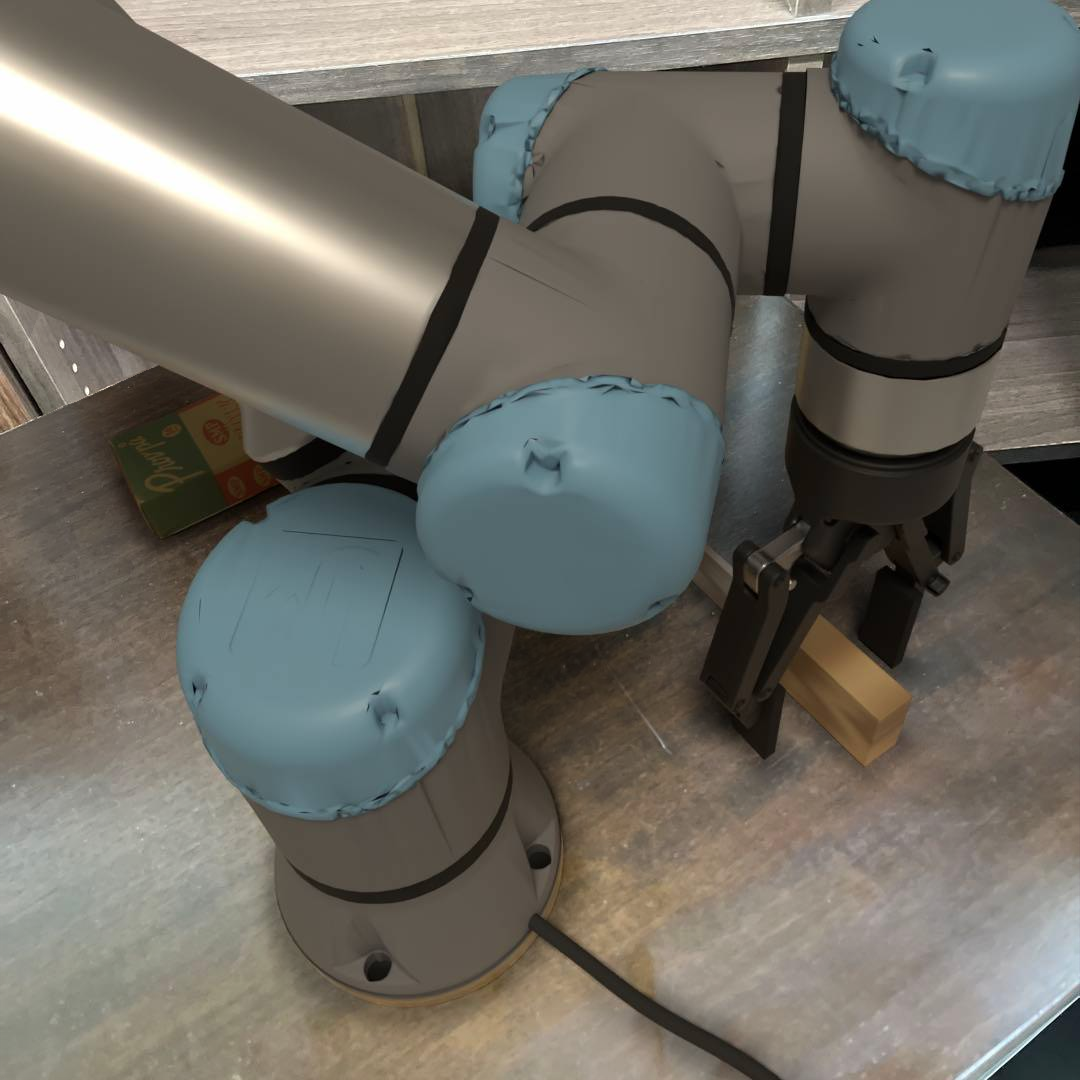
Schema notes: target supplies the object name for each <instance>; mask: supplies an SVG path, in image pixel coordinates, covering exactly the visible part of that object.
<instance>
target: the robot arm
mask: <svg viewBox="0 0 1080 1080" xmlns="http://www.w3.org/2000/svg"><path fill="white" fill-rule="evenodd" d="M1079 104H1080V28H1079V25H1078V23H1077V22H1076V20H1075V18H1074V17H1073V16H1072V15H1071V14H1070V13H1069V12H1068V11H1066V10H1065V9H1064V8H1062V7H1061V6H1060V5H1059V4H1057V3H1055V2H1053V1H1052V0H868V1H867V2H865V3H864V4H862V5H861V6H860V7H859V8H858V9H856V10H854V12H853V13H852V15H851V16H850V17H849V18H848V19H847V21H846V22H845V25H844V27H843V29H842V31H841V35H840V38H839V43H838V47H837V50H836V51H835V52H834V53H833V54H832V57H831V60H830V67H806V69H805V71H783V72H782V71H780V72H779V71H685V70H684V71H680V70H675V71H672V70H671V71H670V70H669V71H667V70H663V71H662V70H661V71H659V70H649V71H648V70H610V69H609V68H606V67H605V66H592V67H582V68H579V69H577V70H574V71H568V72H567V71H566V72H556V73H555V72H554V73H542V74H531V75H530V74H529V75H520V76H515V77H512V78H509V79H507V80H506V81H503V82H502V83H501V84H499V85H498V87H496V88H495V89H494V90H493V92H492V93H491V94H490V95H489V98H488V99H487V101H486V103H485V104H484V107H483V110H482V113H481V116H480V119H479V124H478V145H477V146H476V148H474V151H473V160H472V165H473V166H472V200H470V199H468V198H467V197H466V196H463V195H461V194H459V193H457V192H455V191H454V190H451V189H450V188H448V187H446V186H444V185H442V184H440V183H438V182H437V181H434V180H432V179H431V178H429V177H427V176H425V175H424V174H422V173H420V172H418V171H415V170H414V169H412V168H410V167H408V166H406V165H405V164H403V163H400V162H398V161H397V160H395V159H393V158H391V157H390V156H387V155H385V154H384V153H382V152H380V151H378V150H376V149H374V148H372V147H371V146H369V145H367V144H365V143H363V142H361V141H360V140H357V139H355V138H354V137H352V136H350V135H348V134H346V133H344V132H343V131H340V130H338V129H337V128H335V127H333V126H331V125H330V124H327V123H325V122H324V121H322V120H320V119H318V118H316V117H314V116H312V115H310V114H308V113H307V112H305V111H303V110H301V109H299V108H297V107H295V106H293V105H292V104H289V103H288V102H286V101H284V100H282V99H280V98H278V97H276V96H275V95H273V94H270V93H269V92H267V91H265V90H263V89H261V88H259V87H258V86H256V85H254V84H252V83H250V82H248V81H246V80H245V79H242V78H241V77H239V76H237V75H235V74H234V73H231V72H230V71H227V70H225V69H224V68H222V67H220V66H218V65H216V64H214V63H212V61H208V60H207V59H206V58H203V57H201V56H199V55H197V54H195V53H194V52H192V51H190V50H188V49H186V48H184V47H182V46H180V45H178V44H177V43H175V42H173V41H171V40H170V39H167V38H165V37H163V36H162V35H160V34H158V33H156V32H154V31H152V30H150V29H148V28H147V27H145V26H143V25H141V24H140V23H137V22H136V21H135V20H134V19H133V17H131V16H130V15H129V14H128V13H127V11H126V10H124V8H123V7H122V6H121V5H120V4H119V3H118V2H117V1H116V0H0V295H3V297H4V296H5V297H7V298H9V299H11V300H13V301H15V302H18V303H19V304H22V305H25V306H27V307H29V308H31V309H33V310H35V311H37V312H40V313H42V314H44V315H47V316H49V317H51V318H53V319H56V320H58V321H60V322H62V323H64V324H66V325H69V326H70V327H73V328H75V329H77V330H79V331H82V332H85V333H86V334H89V335H91V336H92V337H96V338H97V339H100V340H102V341H104V342H106V343H109V344H111V345H113V346H115V347H117V348H120V349H122V350H124V351H127V352H129V353H130V354H132V355H135V356H137V357H138V358H139V357H140V358H142V359H143V360H146V361H148V362H151V363H153V364H155V365H158V366H159V367H162V368H164V369H166V370H169V371H171V372H172V373H175V374H177V375H180V376H181V377H184V378H186V379H188V380H191V381H192V382H195V383H197V384H199V385H202V386H204V387H206V388H208V389H210V390H212V391H215V392H216V393H218V392H219V393H221V394H224V395H226V396H228V397H230V398H232V399H234V400H235V401H236V402H237V403H238V405H239V408H240V411H241V421H242V436H243V449H244V451H245V453H246V454H247V455H248V456H249V457H251V459H253V460H254V461H255V462H256V463H257V464H259V465H260V466H261V467H262V468H263V469H265V470H266V471H267V472H268V473H269V474H270V475H272V476H273V477H274V478H275V479H277V480H278V481H279V482H280V483H279V484H281V485H282V486H283V487H284V488H285V489H286V490H288V491H289V492H290V493H289V494H287V495H285V496H281V497H279V498H277V499H274V500H273V501H271V502H269V503H268V504H266V506H265V511H266V515H267V516H266V517H265V518H263V519H261V520H259V521H257V522H255V523H253V522H251V521H249V520H242V521H240V522H239V523H237V525H235V526H234V527H233V528H232V529H230V530H229V532H228V533H226V535H224V536H223V538H221V539H220V541H219V542H218V543H217V544H216V545H215V547H214V548H213V549H212V550H211V551H210V553H209V554H208V555H207V556H206V558H205V559H204V561H203V562H202V563H201V565H200V566H199V568H198V570H197V572H196V574H195V575H194V577H193V579H192V581H191V583H190V585H189V588H188V590H187V593H186V595H185V599H184V601H183V603H182V607H181V610H180V613H179V617H178V624H177V630H176V638H175V659H176V661H175V662H176V666H177V667H176V670H177V676H178V679H179V683H180V688H181V691H182V693H183V696H184V699H185V701H186V704H187V706H188V708H189V710H190V712H191V713H192V717H193V721H194V723H195V726H196V728H197V731H198V732H199V735H200V736H201V741H202V744H203V747H204V748H205V750H206V751H207V753H208V755H209V757H210V758H211V760H212V761H213V763H214V764H215V766H216V767H217V768H218V770H219V771H220V772H221V774H222V775H223V776H224V777H225V779H226V780H227V781H228V782H229V783H230V784H231V785H232V786H233V787H235V789H237V790H238V791H239V792H240V794H241V795H242V797H243V798H244V799H245V801H246V802H247V803H248V805H249V806H250V808H251V809H252V810H253V812H254V814H255V815H256V817H257V818H258V819H259V821H260V823H261V824H262V826H263V827H264V829H265V831H266V832H267V833H268V835H269V836H270V838H271V840H272V841H273V842H274V844H275V846H274V847H275V848H274V862H273V863H274V866H273V867H274V868H273V870H274V871H273V873H274V875H273V877H274V889H275V894H276V895H275V896H276V902H277V906H278V909H279V912H280V916H281V919H282V921H283V923H284V926H285V928H286V930H287V932H288V935H290V937H291V939H292V942H293V943H294V944H295V945H296V947H297V948H298V949H299V951H300V953H302V955H303V956H304V957H305V959H306V960H307V961H308V963H309V964H310V965H311V966H312V967H313V968H314V969H315V970H316V971H317V972H318V973H319V974H320V976H322V977H323V978H324V979H325V980H327V981H328V982H329V983H330V984H332V985H334V986H335V987H337V989H339V990H341V991H343V992H344V993H346V994H349V995H350V996H353V997H355V998H357V999H360V1000H363V1001H365V1002H369V1003H373V1004H377V1005H381V1006H388V1007H395V1008H397V1007H398V1008H415V1007H428V1006H434V1005H437V1004H439V1005H440V1004H444V1003H446V1002H449V1001H453V1000H456V999H460V998H462V997H464V996H466V995H469V994H472V993H474V992H475V991H477V990H479V989H481V988H483V987H485V986H486V985H488V984H490V983H491V982H493V981H494V980H496V979H497V978H499V977H500V976H501V975H502V974H503V973H505V972H506V971H508V970H509V969H510V968H511V967H512V966H514V965H515V963H516V962H517V961H519V960H520V959H521V957H522V956H524V954H525V953H526V952H527V950H528V949H529V948H530V947H531V946H532V945H533V944H534V942H535V940H536V939H537V937H538V936H539V937H540V938H542V939H543V940H544V941H545V942H546V943H548V944H549V945H551V946H552V947H553V948H554V949H556V950H557V951H559V952H560V953H561V954H562V955H564V956H565V957H567V958H568V959H569V960H570V961H571V962H573V963H574V964H576V966H578V967H579V968H581V969H582V970H584V971H585V972H586V973H587V974H588V975H590V976H591V977H592V978H593V979H595V980H596V981H597V982H599V983H600V984H601V985H602V986H603V987H605V988H606V989H607V990H608V991H610V992H611V993H612V994H614V995H615V996H616V997H618V998H619V999H620V1000H621V1001H623V1003H626V1004H627V1005H628V1006H630V1007H631V1008H632V1009H633V1010H635V1011H636V1012H638V1013H639V1014H641V1015H643V1016H644V1017H646V1018H647V1019H649V1020H651V1021H652V1022H653V1023H654V1024H656V1025H658V1026H660V1027H661V1028H664V1029H665V1030H667V1031H669V1032H670V1033H672V1034H674V1035H675V1036H678V1037H679V1038H681V1039H682V1040H685V1041H686V1042H688V1043H690V1044H692V1045H693V1046H696V1047H697V1048H699V1049H701V1050H703V1051H704V1052H707V1053H708V1054H711V1055H712V1056H714V1057H716V1058H717V1059H719V1060H720V1061H723V1062H724V1063H726V1064H728V1065H729V1066H731V1067H732V1068H734V1069H736V1070H737V1071H739V1072H740V1073H742V1074H743V1075H745V1076H747V1077H748V1078H749V1079H751V1080H783V1079H782V1078H780V1077H779V1076H778V1075H777V1074H776V1073H774V1072H773V1071H772V1070H770V1069H768V1068H767V1067H766V1066H765V1065H763V1064H762V1063H760V1062H759V1061H757V1060H756V1059H754V1058H753V1057H751V1056H750V1055H749V1054H747V1053H745V1052H743V1051H742V1050H740V1049H739V1048H737V1047H735V1046H734V1045H732V1044H730V1043H728V1042H727V1041H725V1040H723V1039H721V1038H720V1037H718V1036H716V1035H714V1034H713V1033H711V1032H708V1031H707V1030H705V1029H703V1028H701V1027H699V1026H697V1025H696V1024H693V1022H690V1021H689V1020H686V1019H684V1018H682V1017H681V1016H679V1015H678V1014H675V1013H674V1012H672V1011H670V1010H668V1009H667V1008H665V1006H662V1005H660V1004H658V1003H657V1002H656V1001H654V1000H652V999H651V998H650V997H648V996H646V995H645V994H644V993H642V992H641V991H639V990H638V989H637V988H635V987H634V986H632V985H631V984H629V983H628V982H627V981H626V980H624V979H623V978H622V977H620V976H619V975H618V974H616V972H614V971H613V970H612V969H610V968H609V967H608V966H607V965H605V964H604V963H603V962H602V961H600V960H599V959H597V958H596V957H595V956H594V955H593V954H591V953H590V952H588V951H587V950H586V949H585V948H584V947H582V946H581V945H579V944H578V943H577V942H575V940H573V939H571V938H570V937H569V936H568V935H566V934H565V933H564V932H562V931H561V930H559V929H558V928H557V927H556V926H554V925H553V924H551V922H549V921H548V919H549V917H550V915H551V912H552V910H553V908H554V906H555V903H556V900H557V897H558V894H559V890H560V886H561V882H562V876H563V869H564V841H563V834H562V828H561V819H560V815H559V811H558V808H557V803H556V801H555V798H554V795H553V793H552V790H551V788H550V786H549V784H548V782H547V781H546V778H545V777H544V775H543V773H542V772H541V771H540V769H539V767H538V766H537V765H536V764H535V763H534V761H532V759H531V758H530V757H529V756H528V755H527V754H526V753H525V752H524V751H523V750H522V749H521V748H520V747H519V746H517V744H515V743H514V742H513V741H512V740H511V739H510V738H509V737H508V736H507V733H506V732H507V731H506V728H505V724H504V718H503V715H502V709H501V700H502V699H501V697H502V688H503V682H504V676H505V673H506V668H507V665H508V659H509V656H510V652H511V647H512V644H513V639H514V635H515V631H516V627H518V628H523V629H526V630H530V631H535V632H540V633H546V634H552V635H561V636H563V635H564V636H592V635H601V634H608V633H611V632H617V631H621V630H625V629H628V628H631V627H635V626H637V625H640V624H641V623H643V622H645V621H648V620H650V619H652V618H653V617H655V616H657V615H658V614H659V613H661V612H662V611H664V610H666V609H667V608H668V607H669V606H670V605H671V604H674V603H675V602H676V601H677V600H678V599H680V598H682V597H683V595H684V592H685V591H686V590H687V588H688V587H689V585H690V584H691V583H692V582H693V581H692V579H693V578H694V576H695V574H696V572H697V571H698V569H699V566H700V564H701V561H702V558H703V555H704V550H705V546H706V544H707V542H708V541H707V540H708V536H709V532H710V526H711V522H712V517H713V512H714V508H715V503H716V498H717V493H718V488H719V484H720V479H721V475H722V473H724V471H725V466H726V456H727V455H728V448H727V444H726V439H725V433H724V421H725V411H726V396H727V395H726V394H727V384H728V370H729V357H730V343H731V337H732V333H733V330H734V319H735V314H736V313H735V312H736V305H737V296H764V297H783V298H784V297H785V295H797V296H798V295H799V296H805V299H804V307H803V324H802V333H801V339H800V347H799V355H798V362H797V368H796V369H797V370H796V376H795V383H794V389H793V390H794V394H793V395H792V398H791V403H790V409H789V416H788V423H787V424H788V425H787V432H786V438H785V439H786V440H785V447H784V464H785V469H786V473H787V476H788V479H789V482H790V485H791V489H792V493H793V497H794V500H793V503H792V505H791V507H790V509H789V511H788V513H787V515H786V517H785V518H784V521H783V524H782V525H783V526H782V533H781V534H780V535H779V536H778V537H776V538H775V539H773V540H772V541H770V542H769V543H768V544H766V545H764V546H763V547H760V546H759V545H757V544H756V543H755V542H754V541H753V540H752V539H746V540H743V541H742V542H740V543H739V544H738V545H737V546H736V548H735V549H734V550H733V553H732V557H731V561H732V562H731V564H732V565H731V566H732V567H733V580H732V583H731V586H730V589H729V592H728V595H727V598H726V601H725V604H724V607H723V610H722V609H721V612H720V616H719V619H718V621H717V625H716V627H715V630H714V633H713V636H712V639H711V642H710V646H709V648H708V651H707V654H706V658H705V660H704V663H703V666H702V669H701V672H700V674H699V681H700V683H702V685H703V686H705V688H706V689H707V690H708V691H709V692H710V693H711V694H712V695H713V696H714V697H715V698H716V699H717V700H718V701H719V702H720V703H721V704H722V705H723V706H724V707H725V708H726V710H727V711H729V713H730V714H732V715H733V718H732V727H733V728H734V729H735V730H736V731H737V732H738V733H739V734H740V735H741V736H742V737H743V739H745V740H746V741H747V743H748V744H750V746H751V747H752V748H753V749H754V750H755V751H756V752H757V753H758V754H759V755H760V756H761V757H762V758H763V759H764V760H766V759H767V758H768V757H770V756H772V755H773V754H774V753H775V752H776V748H777V740H778V736H779V729H780V724H781V720H782V714H783V709H784V708H783V707H784V703H785V696H786V692H787V691H786V689H785V688H784V687H783V686H782V685H781V684H780V683H779V681H780V679H781V678H782V676H783V674H784V673H785V671H786V669H787V668H788V666H789V664H790V662H791V661H792V659H793V657H794V656H795V654H796V652H797V651H798V649H799V647H800V646H801V644H802V642H803V641H804V639H805V637H806V636H807V634H808V632H809V631H810V629H811V627H812V626H813V624H814V622H815V621H816V619H817V617H818V616H819V614H820V615H821V612H822V611H823V609H824V608H825V605H826V604H827V602H831V601H835V600H838V599H840V598H841V597H842V596H843V595H844V593H845V592H846V590H847V588H848V587H849V585H850V583H851V582H852V580H853V578H854V577H855V576H856V573H857V572H858V570H859V568H860V567H861V566H862V564H863V562H865V561H868V560H870V559H871V558H872V557H873V555H875V554H877V553H879V552H881V551H884V554H885V555H886V558H887V559H888V561H889V563H891V564H892V565H893V566H895V567H894V569H893V568H891V567H890V566H889V565H888V564H884V566H881V568H879V569H878V570H876V573H875V576H874V580H873V584H872V588H871V592H870V596H869V599H868V602H867V607H866V611H865V615H864V619H863V623H862V627H861V630H860V634H859V636H858V637H859V638H858V639H859V640H860V642H863V644H865V645H866V646H867V647H868V648H869V649H871V650H872V651H873V652H874V653H875V654H876V655H877V656H879V658H881V659H882V660H883V661H884V662H885V663H887V664H888V665H889V666H890V667H891V668H892V669H894V668H895V667H896V666H898V665H899V664H900V663H902V662H903V659H904V657H905V653H906V650H907V648H908V644H909V641H910V638H911V636H912V632H913V629H914V626H915V623H916V620H917V616H918V614H919V610H920V607H921V604H922V601H923V598H924V595H925V591H926V592H928V593H929V594H930V595H931V596H933V597H934V598H938V597H939V596H941V595H942V594H943V593H944V592H946V590H947V589H948V587H949V586H950V583H951V580H950V579H949V578H947V577H946V576H945V575H943V574H942V573H941V572H940V571H939V568H938V567H940V566H941V565H942V564H943V563H945V564H947V565H948V566H953V565H955V564H956V563H957V562H959V561H960V560H961V559H962V557H963V555H964V553H965V549H966V540H967V529H968V520H969V513H970V512H969V511H970V500H971V494H972V493H971V492H972V482H973V477H974V474H975V473H976V470H977V468H978V465H979V462H980V461H981V458H982V455H983V453H984V446H982V445H981V444H979V443H978V442H976V441H975V440H974V438H975V434H976V431H977V425H978V424H979V423H980V421H981V418H982V415H983V412H984V410H985V406H986V403H987V400H988V396H989V392H990V389H991V386H992V383H993V380H994V377H995V372H996V370H997V366H998V363H999V359H1000V357H1001V352H1002V350H1003V346H1004V343H1005V339H1006V336H1007V332H1008V328H1009V323H1010V319H1011V316H1012V314H1013V311H1014V308H1015V305H1016V302H1017V299H1018V298H1019V297H1018V296H1019V294H1020V291H1021V289H1022V285H1023V283H1024V280H1025V277H1026V274H1027V272H1028V268H1029V266H1030V263H1031V260H1032V257H1033V254H1034V252H1035V248H1036V246H1037V243H1038V240H1039V237H1040V234H1041V231H1042V228H1043V226H1044V223H1045V219H1046V218H1047V214H1048V212H1049V209H1050V207H1051V203H1052V200H1053V197H1054V194H1055V193H1057V190H1058V188H1059V187H1060V186H1061V185H1062V182H1063V179H1064V176H1065V172H1066V170H1065V169H1063V168H1064V164H1065V160H1066V156H1067V152H1068V149H1069V143H1070V140H1071V137H1072V132H1073V128H1074V125H1075V121H1076V117H1077V114H1078V109H1079ZM812 562H813V563H814V564H813V563H812ZM815 564H816V565H817V566H818V567H819V568H821V569H823V570H824V571H825V572H828V573H830V574H829V575H827V574H826V573H824V572H823V571H822V570H820V569H819V568H818V567H817V566H816V565H815Z"/></svg>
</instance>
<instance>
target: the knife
mask: <svg viewBox="0 0 1080 1080" xmlns="http://www.w3.org/2000/svg"><path fill="white" fill-rule="evenodd" d="M732 580H733V566H732V565H731V564H730V563H729V562H728V561H727V560H725V559H724V558H723V557H722V555H720V554H719V553H717V552H716V550H715V549H713V548H712V546H710V545H709V544H708V543H706V546H705V550H704V555H703V558H702V561H701V564H700V566H699V569H698V571H697V572H696V574H695V576H694V578H693V579H692V581H691V582H693V583H694V584H695V585H696V587H698V588H699V589H700V591H702V592H703V593H704V594H705V595H706V596H707V597H709V598H710V600H711V601H712V602H713V603H715V604H716V605H717V606H718V608H720V609H721V611H722V610H723V607H724V604H725V601H726V598H727V595H728V592H729V589H730V586H731V583H732ZM779 683H780V684H781V685H782V686H783V687H784V688H785V689H786V692H787V693H788V694H789V695H790V696H791V698H793V700H795V701H796V702H797V703H798V704H799V705H800V706H801V707H802V708H803V709H804V710H805V711H806V712H807V713H808V714H809V715H810V716H811V717H813V719H815V720H816V721H817V722H818V723H819V724H820V725H821V726H822V727H823V728H824V729H825V730H826V732H828V733H829V734H830V735H831V736H832V737H833V738H834V739H835V740H836V742H838V743H839V744H840V745H841V746H842V747H843V748H844V749H845V750H846V751H848V753H849V754H850V755H852V756H853V757H854V758H855V760H857V761H858V762H859V764H861V766H863V767H867V766H868V765H870V764H871V763H872V762H874V761H875V760H876V759H878V758H879V757H880V756H882V755H883V754H884V753H886V752H887V751H889V750H890V749H891V748H892V747H893V746H895V745H896V744H897V742H898V739H899V737H900V733H901V730H902V728H903V725H904V722H905V719H906V716H907V714H908V711H909V710H910V707H911V703H912V701H913V698H914V696H913V695H912V694H911V693H910V692H909V691H908V690H907V689H906V688H904V686H902V685H901V684H900V683H899V682H897V681H896V679H894V678H893V677H892V676H891V675H890V674H888V672H886V671H885V670H884V669H883V668H882V667H880V666H879V665H878V664H877V663H876V662H875V661H874V660H873V659H872V658H871V657H870V656H868V655H867V654H865V652H864V651H863V650H861V649H860V648H859V647H858V646H856V645H855V644H854V643H853V642H852V641H851V640H850V639H849V638H848V637H846V635H844V634H843V633H842V632H841V631H840V630H839V629H837V628H836V627H835V626H834V625H833V624H832V623H830V621H828V620H827V619H826V618H825V617H824V616H823V615H822V614H821V613H820V614H819V616H818V617H817V619H816V621H815V622H814V624H813V626H812V627H811V629H810V631H809V632H808V634H807V636H806V637H805V639H804V641H803V642H802V644H801V646H800V647H799V649H798V651H797V652H796V654H795V656H794V657H793V659H792V661H791V662H790V664H789V666H788V668H787V669H786V671H785V673H784V674H783V676H782V678H781V679H780V681H779Z"/></svg>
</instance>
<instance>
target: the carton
mask: <svg viewBox="0 0 1080 1080" xmlns="http://www.w3.org/2000/svg"><path fill="white" fill-rule="evenodd" d="M107 443H108V444H109V448H110V451H111V453H112V455H113V458H114V460H115V462H116V464H117V466H118V468H119V470H120V472H121V474H122V476H123V478H124V480H125V482H126V485H127V486H128V488H129V491H130V492H131V495H132V497H133V499H134V501H135V503H136V505H137V507H138V509H139V511H140V513H141V515H142V517H143V520H144V521H145V523H146V525H147V526H148V528H149V529H150V531H151V532H152V534H153V535H154V537H155V538H156V539H159V540H163V539H165V538H167V537H170V536H172V535H174V534H177V533H178V532H181V531H183V530H185V529H188V528H190V527H192V526H194V525H196V524H198V523H200V522H202V521H204V520H206V519H208V518H210V517H213V516H215V515H217V514H220V513H221V512H223V511H226V510H228V509H229V508H232V507H234V506H236V505H238V504H240V503H242V502H243V501H245V500H248V499H250V498H252V497H254V496H256V495H259V494H261V493H262V492H264V491H267V490H268V489H270V488H272V487H275V486H278V485H279V484H281V483H280V482H279V481H278V480H277V479H275V478H274V477H273V476H272V475H270V474H269V473H268V472H267V471H266V470H265V469H263V468H262V467H261V466H260V465H259V464H257V463H256V462H255V461H254V460H253V459H251V457H249V456H248V455H247V454H246V453H245V451H244V449H243V436H242V421H241V411H240V408H239V405H238V403H237V402H236V401H235V400H234V399H232V398H230V397H228V396H226V395H224V394H221V393H219V392H216V393H213V394H211V395H210V396H207V397H204V398H202V399H201V400H198V401H196V402H193V403H191V404H189V405H186V406H184V407H181V408H180V409H177V410H175V411H172V412H170V413H168V414H165V415H163V416H161V417H158V418H156V419H152V420H151V421H149V422H146V423H144V424H141V425H140V426H138V427H135V428H133V429H130V430H129V431H128V430H127V431H126V432H124V433H121V434H119V435H117V436H115V437H112V438H110V439H109V440H107Z"/></svg>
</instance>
